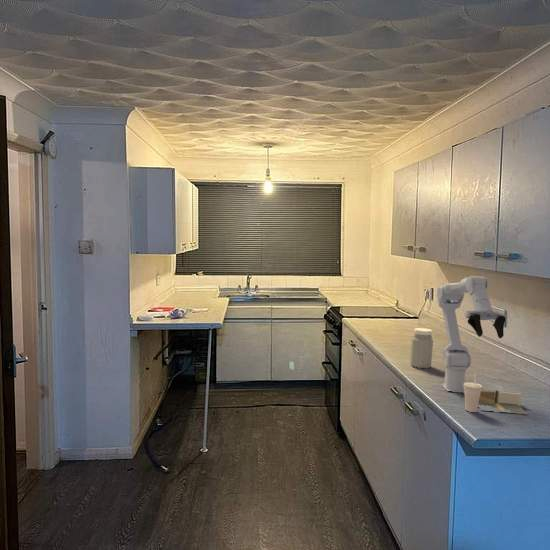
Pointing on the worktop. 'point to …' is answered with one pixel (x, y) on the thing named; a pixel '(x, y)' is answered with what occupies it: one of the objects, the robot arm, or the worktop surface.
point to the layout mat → (504, 407)
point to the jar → (421, 348)
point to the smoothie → (472, 395)
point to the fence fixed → (488, 396)
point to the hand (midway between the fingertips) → (491, 336)
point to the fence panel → (509, 398)
